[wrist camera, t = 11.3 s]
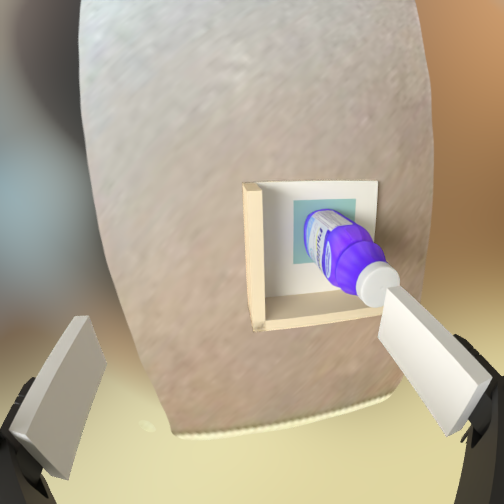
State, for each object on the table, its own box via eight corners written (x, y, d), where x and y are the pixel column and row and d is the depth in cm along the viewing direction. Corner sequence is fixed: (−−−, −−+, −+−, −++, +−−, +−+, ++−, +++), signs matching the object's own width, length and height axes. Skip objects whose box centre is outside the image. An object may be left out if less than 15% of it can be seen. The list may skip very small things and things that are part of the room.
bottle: (300, 207, 39) (355, 255, 23) (339, 203, 39) (412, 247, 23) (301, 258, 42) (349, 329, 26) (339, 253, 42) (401, 317, 26)
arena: (242, 182, 38) (247, 191, 32) (374, 180, 40) (400, 188, 33) (247, 304, 45) (253, 332, 38) (364, 291, 46) (384, 314, 40)
